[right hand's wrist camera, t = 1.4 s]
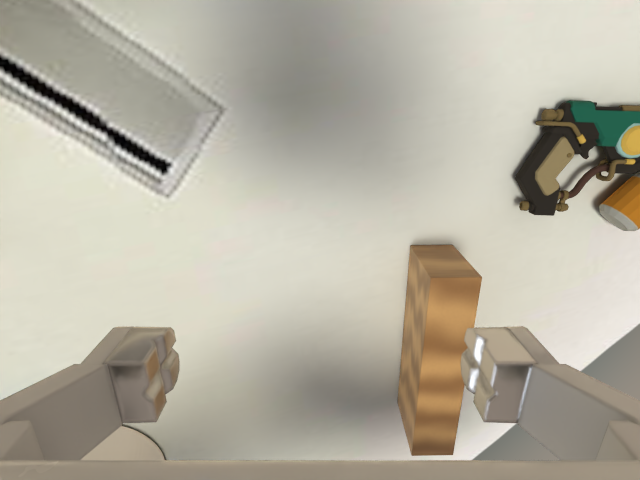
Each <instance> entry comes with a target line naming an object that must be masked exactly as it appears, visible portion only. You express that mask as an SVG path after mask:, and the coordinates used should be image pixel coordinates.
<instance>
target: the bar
mask: <svg viewBox="0 0 640 480" xmlns="http://www.w3.org/2000/svg"><path fill="white" fill-rule="evenodd" d="M481 280H482V277H481V276H480V274H479V273H478V272H477V271H476V270H475V269H474V268H473V267H472V266H471V265H470V264H469V262H468V261H467V260H466V259H465V258H464V257H463V256H462V255H461V254H460V253H459V251H458V250H457V249H456V248H455V247H454V246H453V245H411V246H410V257H409V269H408V281H407V293H406V305H405V317H404V329H403V341H402V354H401V366H400V378H399V390H398V406H399V409H400V413H401V417H402V421H403V425H404V428H405V432H406V436H407V440H408V444H409V447H410V451H411V455H412V456H416V455H453V451H454V445H455V439H456V433H457V427H458V421H459V415H460V409H461V403H462V396H463V390H464V382H463V378H462V375H461V366H460V363H461V355H462V353H463V352H464V351H465V350H466V349H467V348H468V347H467V345H466V343H465V342H464V337H465V332H466V330H467V328H474V323H475V317H476V311H477V305H478V299H479V293H480V287H481Z"/></svg>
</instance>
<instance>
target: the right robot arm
mask: <svg viewBox="0 0 640 480" xmlns="http://www.w3.org/2000/svg"><path fill="white" fill-rule="evenodd" d="M175 342H176V338H175V333H174V330H173V329H172V328H171V327H115V328H113V329H112V330H111V331H110V332H109V333H108V334H107V335H106V336H105V338H104V339H103V340H102V341H101V342H100V343H99V344H98V345H97V346H96V347H95V349H94V350H93V351H92V352H91V353H90V354H89V355H88V356H87V357H86V358H85V359H84V361H83V362H82V363H81V364H74V365H72V366H70V367H68V368H66V369H63V370H61V371H59V372H57V373H55V374H53V375H51V376H49V377H47V378H45V379H43V380H41V381H39V382H37V383H35V384H33V385H31V386H29V387H27V388H25V389H23V390H21V391H19V392H17V393H15V394H13V395H11V396H9V397H7V398H5V399H3V400H1V401H0V480H640V401H639V400H637V399H635V398H633V397H631V396H629V395H627V394H625V393H623V392H621V391H619V390H617V389H615V388H613V387H611V386H609V385H607V384H605V383H603V382H601V381H599V380H597V379H595V378H593V377H591V376H589V375H587V374H585V373H583V372H581V371H579V370H576V369H574V368H572V367H570V366H568V365H566V364H559V363H558V362H557V361H556V359H555V358H554V357H553V356H552V355H551V354H550V353H549V352H548V351H547V350H546V349H545V347H544V346H543V345H542V344H541V343H540V342H539V341H538V340H537V339H536V338H535V336H534V335H533V334H532V333H531V332H530V331H529V330H528V329H527V328H525V327H523V326H517V327H491V328H467V330H466V332H465V337H464V342H465V343H466V345H467V347H468V348H467V349H466V350H465V351H464V352H463V353H462V355H461V363H460V366H461V375H462V378H463V382H464V384H465V386H466V388H467V389H468V390H469V391H470V392H472V393H473V394H475V396H474V401H473V402H474V404H475V406H476V408H477V410H478V412H479V414H480V416H481V418H482V419H483V421H484V422H497V423H518V425H519V426H520V427H521V428H522V429H523V430H525V431H526V432H527V433H528V434H529V435H531V436H532V437H533V438H534V439H535V440H537V441H538V442H539V443H540V444H541V445H543V446H544V447H545V448H546V449H547V450H549V451H550V452H551V453H552V454H553V455H555V456H556V457H557V458H558V459H559V460H556V461H555V460H554V461H553V460H541V461H540V460H537V461H535V460H532V461H531V460H516V461H515V460H512V461H509V460H508V461H506V460H501V461H500V460H497V461H495V460H494V461H492V460H491V461H346V460H128V461H103V460H81V459H82V458H83V457H84V456H86V455H87V454H88V453H89V452H90V451H92V450H93V449H94V448H95V447H96V446H98V445H99V444H100V443H101V442H102V441H104V440H105V439H106V438H107V437H108V436H110V435H111V434H112V433H113V432H114V431H116V430H117V429H118V428H119V427H120V426H122V423H142V422H156V421H157V420H158V418H159V416H160V414H161V412H162V410H163V408H164V406H165V404H166V402H167V401H166V396H165V394H167V393H168V392H170V391H171V390H172V389H173V388H174V386H175V384H176V382H177V378H178V374H179V355H178V353H177V352H176V351H175V350H174V349H173V348H172V347H173V345H174V343H175Z"/></svg>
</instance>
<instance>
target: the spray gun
mask: <svg viewBox="0 0 640 480" xmlns="http://www.w3.org/2000/svg"><path fill="white" fill-rule="evenodd" d="M596 105H597V103H595V102H591V101H567V102H564V103H562V104H561V105H560V106H559V108H558V110H556V111H555V110H554V109H545V110H544V111H543V112H542V115H541V119H542V120H543V121H537V122H536V125H546V126H545V127H544V128H543V132H545V134H544V135H543V137H542V138H541V140H540V141H539V142H538V144H537V145H536V147H535V148H534V150H533V151H532V153H531V154H530V156H529V157H528V159H527V160H526V162H525V163H524V165H523V166H522V168H521V169H520V171H519V172H518V174H517V175H516V177H515V179H516V181H517V183H518V184H519V186H520V188H521V189H522V191H523V193H524V195H525V196H526V198H527V200H528V201H529V202H528V201H521V202H520V205H519V208H520V210H524V211H527V210H529V212H530V213H532V214H534V215H554V213H555V210H557V211H562V212H563V211H566V210H568V205H567V204H565V200H567V199H569V198H572V197H574V196H576V195H577V194H578V193H579V192H580V191H581V189H582V188H583V187H584V185H585V184H586V183H587V182H588V181H589V180H590V179H591V177H593V176H594V175H595V174H596V178H597V179H600V180H602V181H610V180H611V179H612V178H613V177H614V174H615V173H625V174H634V173H636V172H638V171H639V170H640V106H634V105H621V106H619V107H596ZM553 119H554V121H552V120H553ZM553 126H554V127H553ZM595 145H597V146H602V147H603V150H604V153H605V155H606V158H607V159H603V160H602V161H601V162H600V163H599V164H598V166H596V167H594V168H592V169H590V170H589V171H588V172H587V173H585V174H584V175H583V177H582V178H581V179H580V180H579V181H578V182H577V184H576V185H575V187H574V188H573V189H572V190H571V191H570V192H568V191H566V190H561V191H560V188H559V183H558V182H557V181H556V179H555V178H556V177H557V176H558V174H559V173H560V172H561V171H562V170H563V169H564V167H565V166H566V165H567V164H568V163H569V161H570V160H571V159H572V158H573V156H574V154H580V155H581V156H582V157H583V158H584V159H587V158H588V157H589V156H588V152H589V150H590V149H592V148H593V146H595ZM605 163H608V164H605ZM604 164H605V165H604ZM602 171H607V172H608V173H609V174H608V176H607V177H606V176H602V175H601V172H602ZM559 199H560V201H559V203H557V200H559ZM599 211H600V214H601V215H602V216H603V217H604V218H605V219H606V220H607V221H608V222H610V223H611V224H613V225H614V226H616V227H618V228H619V229H621V230H624V231H636V230H638V229H640V173H637V174H635V175H634V176H632V177H631V178H629V179H628V180H627V181H626V182H625V183H624V184H623V185H622V186H620V187H619V188H618V189H617V190H616V191H615V192H614V193H613V194H612V195H610V196H609V197H608V198H607V199H606V200H605V201H604V202H603V203H601V204H600V206H599Z"/></svg>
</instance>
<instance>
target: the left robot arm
mask: <svg viewBox="0 0 640 480" xmlns="http://www.w3.org/2000/svg"><path fill="white" fill-rule="evenodd" d="M81 460H103V461H128V460H165V459H164V456H163V454H162V452H161V450H160V449H159V447H158V446H157V445H156V444H155V443H154V442H153V441H152V440H151V439H149V438H148V437H147V436H145V435H143V434H142V433H140V432H138V431H136V430H133V429H131V428H128V427H124V426H120V427H119V428H118V429H117V430H116V431H114V432H113V433H112V434H111V435H110V436H108V437H107V438H106V439H105V440H104V441H102V442H101V443H100V444H99V445H98V446H96V447H95V448H94V449H93V450H92V451H90V452H89V453H88V454H87V455H86V456H84V457H83V458H82V459H81Z"/></svg>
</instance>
